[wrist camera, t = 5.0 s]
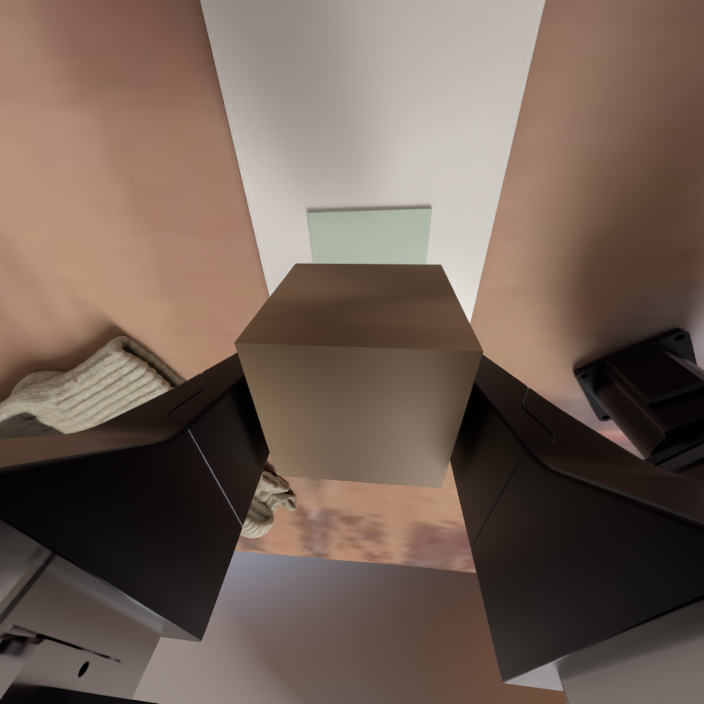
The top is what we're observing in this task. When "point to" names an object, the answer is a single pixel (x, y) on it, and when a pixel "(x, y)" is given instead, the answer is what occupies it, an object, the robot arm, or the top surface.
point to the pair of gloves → (113, 409)
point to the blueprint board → (373, 126)
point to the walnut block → (361, 372)
